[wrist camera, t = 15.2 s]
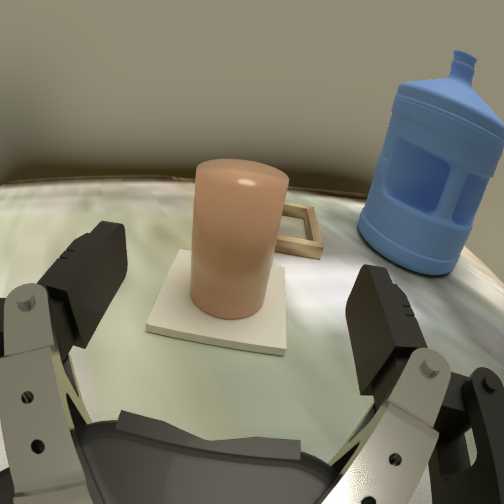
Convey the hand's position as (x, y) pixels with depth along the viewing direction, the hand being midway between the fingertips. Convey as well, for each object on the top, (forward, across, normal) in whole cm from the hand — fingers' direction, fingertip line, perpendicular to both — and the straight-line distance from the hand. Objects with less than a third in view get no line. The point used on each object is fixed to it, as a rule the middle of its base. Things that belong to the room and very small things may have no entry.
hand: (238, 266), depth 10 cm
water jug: (+28, -22, +12) cm, 38 cm away
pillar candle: (+12, +1, +11) cm, 16 cm away
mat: (+11, +1, +12) cm, 16 cm away
